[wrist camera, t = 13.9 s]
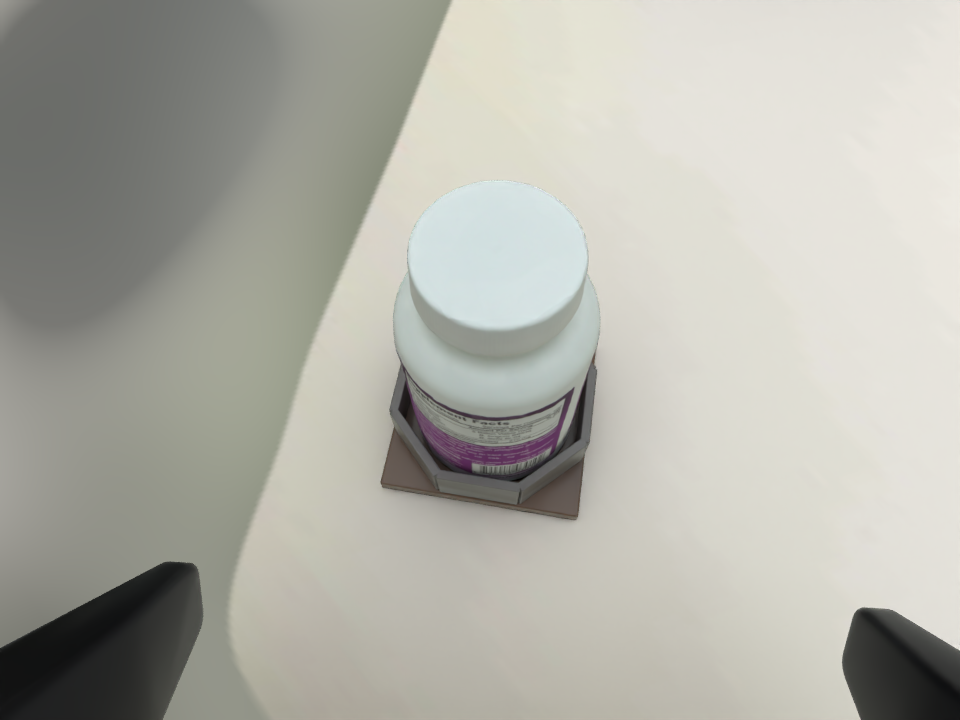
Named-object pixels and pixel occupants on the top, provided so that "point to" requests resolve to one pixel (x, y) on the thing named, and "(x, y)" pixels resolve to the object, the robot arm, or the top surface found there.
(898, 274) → the top surface
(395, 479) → the octagonal bottle holder
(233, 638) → the top surface
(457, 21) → the top surface
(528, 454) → the pill bottle
